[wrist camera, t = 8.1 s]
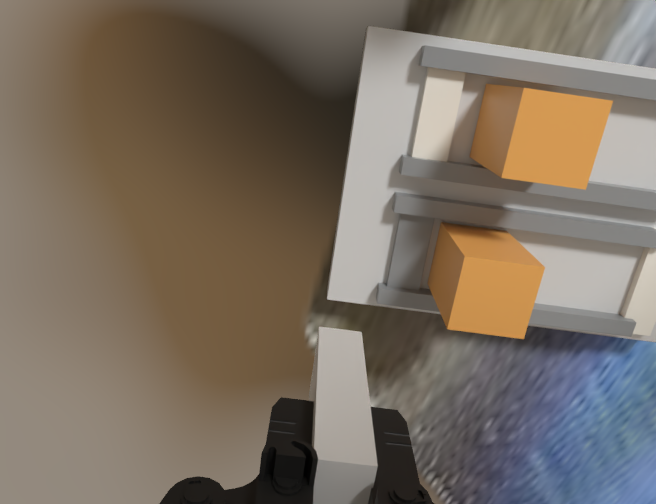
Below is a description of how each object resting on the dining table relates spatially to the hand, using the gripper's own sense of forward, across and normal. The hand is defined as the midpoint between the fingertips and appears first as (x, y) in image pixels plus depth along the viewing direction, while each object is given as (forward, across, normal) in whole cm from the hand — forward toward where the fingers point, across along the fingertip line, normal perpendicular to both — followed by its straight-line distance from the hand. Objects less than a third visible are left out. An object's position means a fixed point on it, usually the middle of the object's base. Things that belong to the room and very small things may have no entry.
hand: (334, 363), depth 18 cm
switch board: (+16, +11, +4) cm, 20 cm away
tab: (+14, +8, 0) cm, 16 cm away
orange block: (+14, +9, +8) cm, 18 cm away
